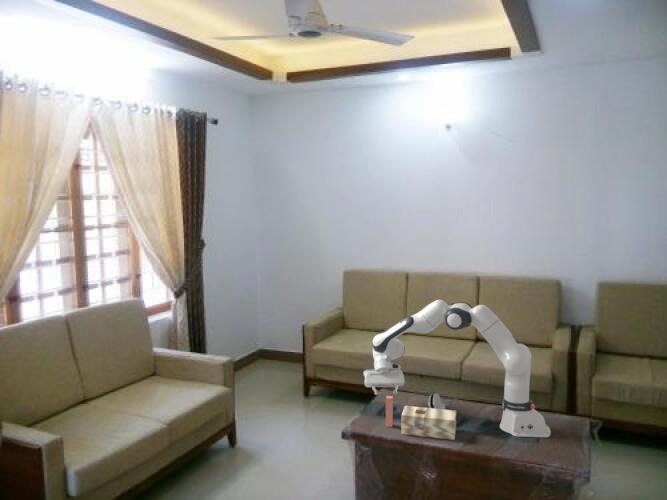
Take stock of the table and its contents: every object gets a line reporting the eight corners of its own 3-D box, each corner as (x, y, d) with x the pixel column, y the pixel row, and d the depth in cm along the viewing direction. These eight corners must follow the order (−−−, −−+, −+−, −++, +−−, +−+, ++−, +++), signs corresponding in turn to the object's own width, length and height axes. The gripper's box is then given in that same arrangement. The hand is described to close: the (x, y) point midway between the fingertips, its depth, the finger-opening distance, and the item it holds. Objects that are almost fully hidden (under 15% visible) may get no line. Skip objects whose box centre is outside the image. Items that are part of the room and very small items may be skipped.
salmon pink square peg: (392, 424, 268) (393, 396, 267) (391, 427, 265) (392, 398, 264) (386, 424, 269) (386, 395, 267) (385, 426, 266) (385, 397, 265)
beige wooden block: (455, 429, 263) (456, 410, 262) (454, 440, 251) (454, 420, 250) (404, 423, 269) (405, 405, 268) (401, 434, 257) (401, 415, 256)
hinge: (442, 419, 274) (435, 400, 274) (433, 421, 275) (426, 402, 276) (445, 407, 290) (439, 388, 290) (437, 409, 291) (430, 391, 291)
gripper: (363, 366, 284) (365, 391, 275) (403, 365, 285) (407, 390, 276) (362, 372, 289) (364, 397, 280) (401, 371, 290) (405, 396, 281)
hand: (386, 394), depth 278 cm, fingers open, 8 cm apart
